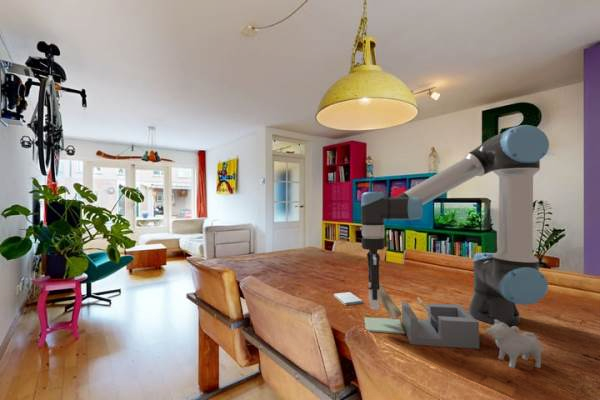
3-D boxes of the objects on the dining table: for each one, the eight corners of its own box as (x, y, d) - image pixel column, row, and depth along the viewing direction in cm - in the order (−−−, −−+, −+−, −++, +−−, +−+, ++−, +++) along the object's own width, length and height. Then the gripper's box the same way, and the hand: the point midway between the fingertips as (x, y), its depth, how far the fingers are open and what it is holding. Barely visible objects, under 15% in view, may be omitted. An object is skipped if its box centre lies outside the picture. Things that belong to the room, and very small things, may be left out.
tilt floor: (441, 330, 91) (445, 328, 91) (447, 337, 86) (451, 335, 86) (416, 297, 92) (420, 295, 92) (420, 303, 87) (424, 300, 87)
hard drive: (363, 300, 118) (350, 291, 130) (345, 302, 116) (333, 293, 128) (363, 304, 118) (350, 295, 130) (345, 306, 116) (333, 297, 128)
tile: (391, 312, 99) (398, 308, 98) (393, 319, 93) (401, 314, 92) (369, 283, 100) (376, 279, 99) (371, 288, 94) (378, 283, 94)
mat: (399, 320, 100) (399, 319, 100) (404, 333, 90) (404, 332, 90) (364, 318, 102) (364, 317, 102) (365, 331, 92) (365, 329, 92)
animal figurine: (482, 357, 76) (481, 317, 76) (529, 356, 76) (528, 317, 77) (496, 368, 71) (495, 326, 71) (546, 367, 71) (545, 325, 71)
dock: (460, 327, 94) (459, 304, 94) (479, 348, 80) (478, 322, 81) (401, 324, 97) (401, 302, 97) (410, 344, 84) (410, 318, 84)
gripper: (360, 234, 107) (361, 295, 107) (362, 240, 88) (363, 315, 88) (381, 234, 106) (382, 296, 105) (388, 240, 87) (389, 316, 87)
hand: (373, 305), depth 97 cm, fingers closed on tile, 6 cm apart
